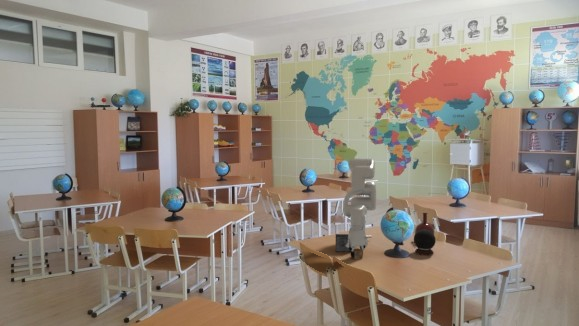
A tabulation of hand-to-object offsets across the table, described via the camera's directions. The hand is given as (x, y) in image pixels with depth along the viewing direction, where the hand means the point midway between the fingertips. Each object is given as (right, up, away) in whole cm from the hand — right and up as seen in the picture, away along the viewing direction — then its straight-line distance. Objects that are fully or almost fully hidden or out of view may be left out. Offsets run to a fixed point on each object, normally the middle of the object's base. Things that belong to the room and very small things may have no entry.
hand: (356, 256), depth 254 cm
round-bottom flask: (+53, +2, +36) cm, 65 cm away
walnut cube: (0, -1, 0) cm, 1 cm away
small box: (-6, 0, +15) cm, 16 cm away
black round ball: (+44, 0, +9) cm, 45 cm away
